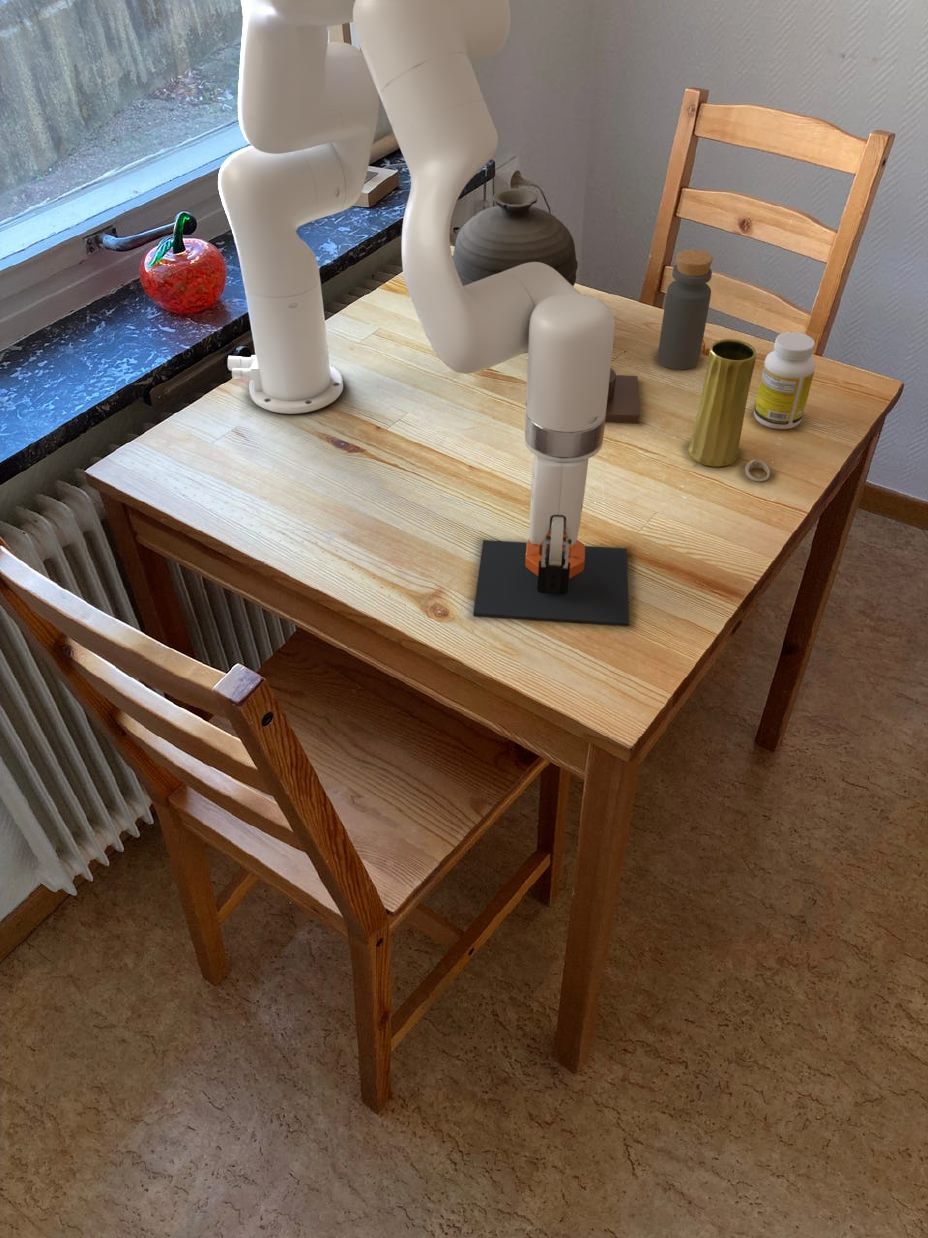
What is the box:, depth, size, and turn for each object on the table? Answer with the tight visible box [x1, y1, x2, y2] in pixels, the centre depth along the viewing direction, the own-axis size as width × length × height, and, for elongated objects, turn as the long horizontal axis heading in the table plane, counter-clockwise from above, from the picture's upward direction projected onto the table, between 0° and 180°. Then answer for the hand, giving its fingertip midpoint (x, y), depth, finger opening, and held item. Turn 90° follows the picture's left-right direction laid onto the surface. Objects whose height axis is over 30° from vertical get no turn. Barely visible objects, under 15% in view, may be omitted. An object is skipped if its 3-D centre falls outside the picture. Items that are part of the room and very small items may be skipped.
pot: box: [452, 187, 579, 287], centre depth 141 cm, size 18×18×20 cm
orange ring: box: [525, 532, 586, 579], centre depth 106 cm, size 6×6×1 cm
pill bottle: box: [753, 331, 816, 430], centre depth 126 cm, size 6×6×11 cm
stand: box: [605, 367, 640, 424], centre depth 130 cm, size 12×10×8 cm
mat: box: [472, 539, 630, 627], centre depth 107 cm, size 16×12×1 cm
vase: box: [687, 338, 757, 468], centre depth 119 cm, size 6×6×14 cm
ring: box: [743, 458, 771, 483], centre depth 121 cm, size 2×3×3 cm
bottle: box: [657, 249, 714, 371], centre depth 136 cm, size 6×6×15 cm
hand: (553, 569), depth 107 cm, fingers closed on orange ring, 6 cm apart
